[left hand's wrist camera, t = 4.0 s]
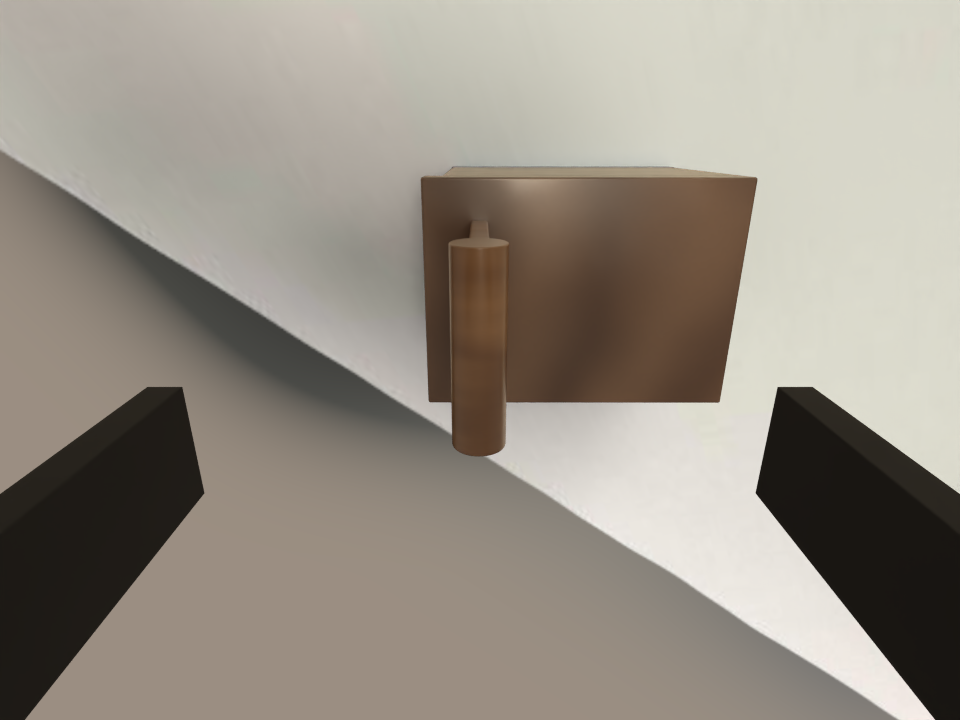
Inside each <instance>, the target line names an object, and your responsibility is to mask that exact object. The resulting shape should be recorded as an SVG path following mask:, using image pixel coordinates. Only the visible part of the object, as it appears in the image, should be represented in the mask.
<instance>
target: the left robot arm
mask: <svg viewBox="0 0 960 720" xmlns="http://www.w3.org/2000/svg"><path fill="white" fill-rule="evenodd" d="M203 494H204V489H203V484H202V480H201V475H200V470H199V465H198V460H197V456H196V451H195V446H194V441H193V436H192V432H191V427H190V422H189V417H188V412H187V408H186V403H185V398H184V393H183V389H182V387H147V388H146V389H144V390H143V391H141V392H140V393H139V394H137V395H136V396H134V397H133V398H132V399H130V400H129V401H128V402H126V403H125V404H123V405H122V406H121V407H119V408H118V409H117V410H115V411H114V412H112V413H111V414H110V415H108V416H107V417H106V418H104V419H103V420H102V421H100V422H99V423H97V424H96V425H95V426H93V427H92V428H90V429H89V430H88V431H86V432H85V433H84V434H82V435H81V436H79V437H78V438H77V439H75V440H74V441H73V442H71V443H70V444H68V445H67V446H66V447H64V448H63V449H62V450H60V451H59V452H57V453H56V454H55V455H53V456H52V457H51V458H49V459H48V460H46V461H45V462H44V463H42V464H41V465H40V466H38V467H37V468H35V469H34V470H33V471H31V472H30V473H29V474H27V475H26V476H25V477H23V478H22V479H20V480H19V481H18V482H16V483H15V484H14V485H12V486H11V487H9V488H8V489H7V490H5V491H4V492H2V493H1V494H0V720H25V719H26V718H27V716H28V715H29V714H30V713H31V711H32V710H33V709H34V707H35V706H36V705H37V704H38V702H39V701H40V700H41V699H42V697H43V696H44V695H45V694H46V692H47V691H48V690H49V689H50V687H51V686H52V685H53V683H54V682H55V681H56V680H57V678H58V677H59V676H60V675H61V673H62V672H63V671H64V670H65V668H66V667H67V666H68V665H69V663H70V662H71V661H72V659H73V658H74V657H75V656H76V654H77V653H78V652H79V651H80V649H81V648H82V647H83V646H84V644H85V643H86V642H87V641H88V639H89V638H90V637H91V636H92V634H93V633H94V632H95V631H96V629H97V628H98V627H99V625H100V624H101V623H102V622H103V620H104V619H105V618H106V617H107V615H108V614H109V613H110V612H111V610H112V609H113V608H114V607H115V605H116V604H117V603H118V601H119V600H120V599H121V598H122V596H123V595H124V594H125V593H126V591H127V590H128V589H129V588H130V586H131V585H132V584H133V583H134V581H135V580H136V579H137V577H138V576H139V575H140V574H141V572H142V571H143V570H144V569H145V567H146V566H147V565H148V564H149V562H150V561H151V560H152V559H153V557H154V556H155V555H156V554H157V552H158V551H159V550H160V548H161V547H162V546H163V545H164V543H165V542H166V541H167V540H168V538H169V537H170V536H171V535H172V533H173V532H174V531H175V530H176V528H177V527H178V526H179V525H180V523H181V522H182V521H183V519H184V518H185V517H186V516H187V514H188V513H189V512H190V511H191V509H192V508H193V507H194V505H195V504H196V503H197V502H198V501H199V499H200V498H201V497H202V495H203ZM756 494H757V495H758V497H759V498H760V499H761V501H762V502H763V503H764V504H765V506H766V507H767V508H768V509H769V511H770V512H771V513H772V514H773V516H774V517H775V518H776V519H777V521H778V522H779V523H780V525H781V526H782V527H783V528H784V530H785V531H786V532H787V533H788V535H789V536H790V537H791V538H792V540H793V541H794V542H795V543H796V545H797V546H798V547H799V548H800V550H801V551H802V552H803V554H804V555H805V556H806V557H807V559H808V560H809V561H810V562H811V564H812V565H813V566H814V567H815V569H816V570H817V571H818V572H819V574H820V575H821V576H822V578H823V579H824V580H825V581H826V583H827V584H828V585H829V586H830V588H831V589H832V590H833V591H834V593H835V594H836V595H837V596H838V598H839V599H840V600H841V601H842V603H843V604H844V605H845V607H846V608H847V609H848V610H849V612H850V613H851V614H852V615H853V617H854V618H855V619H856V620H857V622H858V623H859V624H860V625H861V627H862V628H863V629H864V631H865V632H866V633H867V634H868V636H869V637H870V638H871V639H872V641H873V642H874V643H875V644H876V646H877V647H878V648H879V649H880V651H881V652H882V653H883V654H884V656H885V657H886V658H887V660H888V661H889V662H890V663H891V665H892V666H893V667H894V668H895V670H896V671H897V672H898V673H899V675H900V676H901V677H902V678H903V680H904V681H905V682H906V684H907V685H908V686H909V687H910V689H911V690H912V691H913V692H914V694H915V695H916V696H917V697H918V699H919V700H920V701H921V702H922V704H923V705H924V706H925V707H926V709H927V710H928V711H929V713H930V714H931V715H932V716H933V718H934V719H935V720H960V494H959V493H958V492H956V491H955V490H953V489H952V488H951V487H949V486H948V485H947V484H945V483H944V482H942V481H941V480H940V479H938V478H937V477H936V476H934V475H933V474H931V473H930V472H929V471H927V470H926V469H925V468H923V467H922V466H920V465H919V464H918V463H916V462H915V461H914V460H912V459H911V458H909V457H908V456H907V455H905V454H904V453H903V452H901V451H900V450H898V449H897V448H896V447H894V446H893V445H892V444H890V443H889V442H887V441H886V440H885V439H883V438H882V437H881V436H879V435H878V434H876V433H875V432H874V431H872V430H871V429H870V428H868V427H867V426H865V425H864V424H863V423H861V422H860V421H859V420H857V419H856V418H854V417H853V416H852V415H850V414H849V413H848V412H846V411H845V410H843V409H842V408H841V407H839V406H838V405H837V404H835V403H834V402H832V401H831V400H830V399H828V398H827V397H826V396H824V395H823V394H821V393H820V392H819V391H817V390H816V389H814V388H813V387H778V389H777V393H776V398H775V403H774V408H773V412H772V417H771V422H770V427H769V432H768V436H767V441H766V446H765V451H764V456H763V460H762V465H761V470H760V475H759V480H758V484H757V489H756Z"/></svg>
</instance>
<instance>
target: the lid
mask: <svg viewBox="0 0 960 720" xmlns="http://www.w3.org/2000/svg"><path fill="white" fill-rule="evenodd" d="M756 185H757V178H756V177H748V176H424V177H422V178H421V199H422V227H423V255H424V282H425V310H426V338H427V366H428V394H429V402H452V444H453V446H454V448H455V449H456V450H457V451H459V452H461V453H463V454H466V455H470V456H488V455H492V454H495V453H497V452H499V451H501V450H502V449H503V448H504V446H505V442H506V402H717V403H718V402H720V396H721V390H722V385H723V379H724V373H725V367H726V361H727V355H728V349H729V343H730V338H731V332H732V326H733V320H734V314H735V308H736V302H737V296H738V291H739V285H740V279H741V273H742V267H743V261H744V255H745V249H746V244H747V238H748V232H749V226H750V220H751V214H752V208H753V202H754V197H755V191H756Z"/></svg>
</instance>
